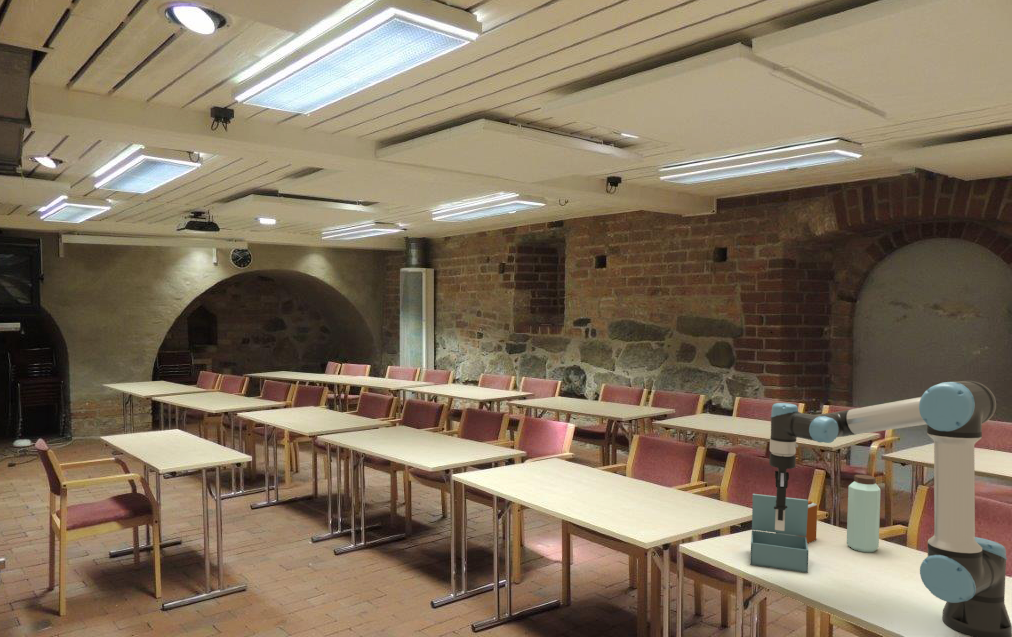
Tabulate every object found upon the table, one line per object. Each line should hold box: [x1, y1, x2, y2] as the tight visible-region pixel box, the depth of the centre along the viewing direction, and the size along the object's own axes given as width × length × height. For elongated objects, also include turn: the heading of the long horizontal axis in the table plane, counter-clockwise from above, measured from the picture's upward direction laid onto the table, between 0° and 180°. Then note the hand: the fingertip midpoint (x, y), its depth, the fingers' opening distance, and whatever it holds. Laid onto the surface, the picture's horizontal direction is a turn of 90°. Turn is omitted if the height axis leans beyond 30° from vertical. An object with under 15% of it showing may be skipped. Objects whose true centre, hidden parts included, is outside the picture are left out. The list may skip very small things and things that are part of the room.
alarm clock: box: [777, 500, 818, 544], centre depth 250 cm, size 15×8×14 cm, turn 130°
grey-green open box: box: [750, 529, 809, 573], centre depth 228 cm, size 14×17×7 cm
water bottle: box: [846, 474, 881, 553], centre depth 243 cm, size 10×10×25 cm
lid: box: [751, 493, 809, 536], centre depth 233 cm, size 14×17×1 cm
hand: (779, 529), depth 216 cm, fingers closed
